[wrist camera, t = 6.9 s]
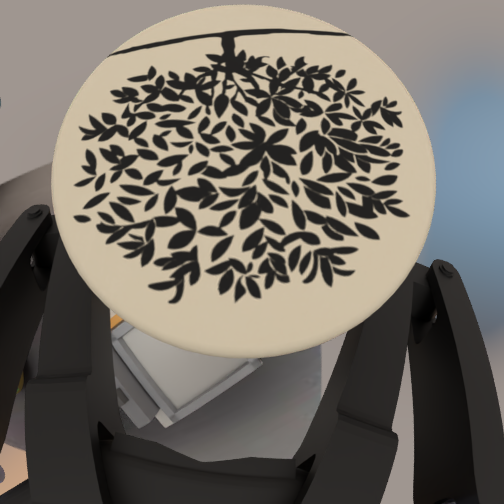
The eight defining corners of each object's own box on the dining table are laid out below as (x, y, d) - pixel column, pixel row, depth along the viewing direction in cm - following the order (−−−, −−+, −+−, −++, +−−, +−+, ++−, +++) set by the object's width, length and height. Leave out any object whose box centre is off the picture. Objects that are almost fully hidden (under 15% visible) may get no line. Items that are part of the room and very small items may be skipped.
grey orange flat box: (54, 257, 33) (20, 248, 26) (143, 181, 35) (122, 157, 27) (167, 424, 31) (151, 453, 24) (270, 355, 33) (278, 371, 25)
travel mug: (292, 307, 22) (458, 355, 4) (184, 306, 22) (23, 351, 4) (292, 202, 23) (402, 23, 5) (188, 200, 23) (94, 12, 5)
